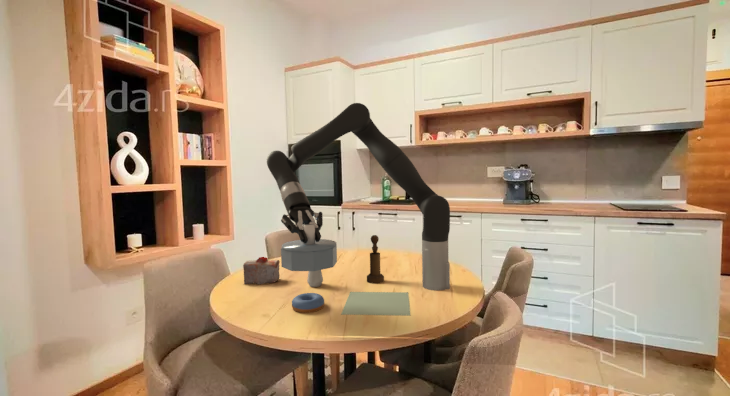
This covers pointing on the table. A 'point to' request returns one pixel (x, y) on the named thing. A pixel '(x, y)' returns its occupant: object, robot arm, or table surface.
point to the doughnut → (308, 302)
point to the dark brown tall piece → (375, 264)
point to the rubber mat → (377, 303)
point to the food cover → (309, 253)
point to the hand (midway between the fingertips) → (312, 240)
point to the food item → (261, 271)
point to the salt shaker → (315, 278)
